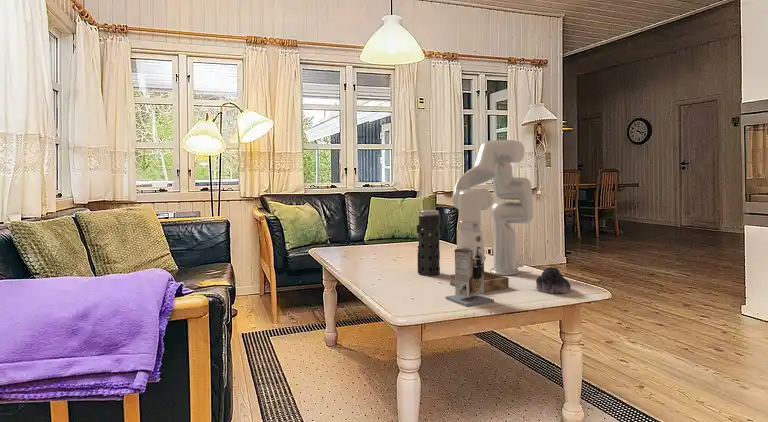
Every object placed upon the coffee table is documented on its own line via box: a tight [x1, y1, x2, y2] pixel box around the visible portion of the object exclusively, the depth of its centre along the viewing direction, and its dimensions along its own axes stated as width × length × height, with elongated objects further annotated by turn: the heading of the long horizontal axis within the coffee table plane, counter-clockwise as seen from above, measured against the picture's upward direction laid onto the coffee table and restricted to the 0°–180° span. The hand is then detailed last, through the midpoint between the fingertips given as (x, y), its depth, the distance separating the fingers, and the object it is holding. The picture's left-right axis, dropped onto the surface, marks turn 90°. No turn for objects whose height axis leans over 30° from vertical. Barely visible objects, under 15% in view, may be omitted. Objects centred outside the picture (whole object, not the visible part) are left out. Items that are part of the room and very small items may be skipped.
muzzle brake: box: [416, 209, 441, 277], centre depth 222 cm, size 10×28×10 cm
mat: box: [445, 294, 495, 307], centre depth 177 cm, size 12×12×1 cm
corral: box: [449, 270, 510, 293], centre depth 198 cm, size 16×16×4 cm
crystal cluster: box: [535, 266, 572, 294], centre depth 190 cm, size 13×14×10 cm
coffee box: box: [454, 248, 485, 297], centre depth 177 cm, size 9×6×16 cm
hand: (469, 275), depth 177 cm, fingers closed on coffee box, 7 cm apart
